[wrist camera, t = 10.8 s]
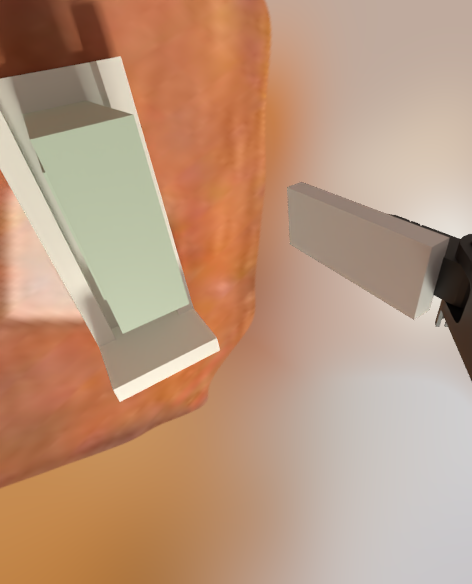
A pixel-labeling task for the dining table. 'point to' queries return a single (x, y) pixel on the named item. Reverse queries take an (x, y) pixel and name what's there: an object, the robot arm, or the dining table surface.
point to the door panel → (110, 207)
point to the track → (61, 244)
